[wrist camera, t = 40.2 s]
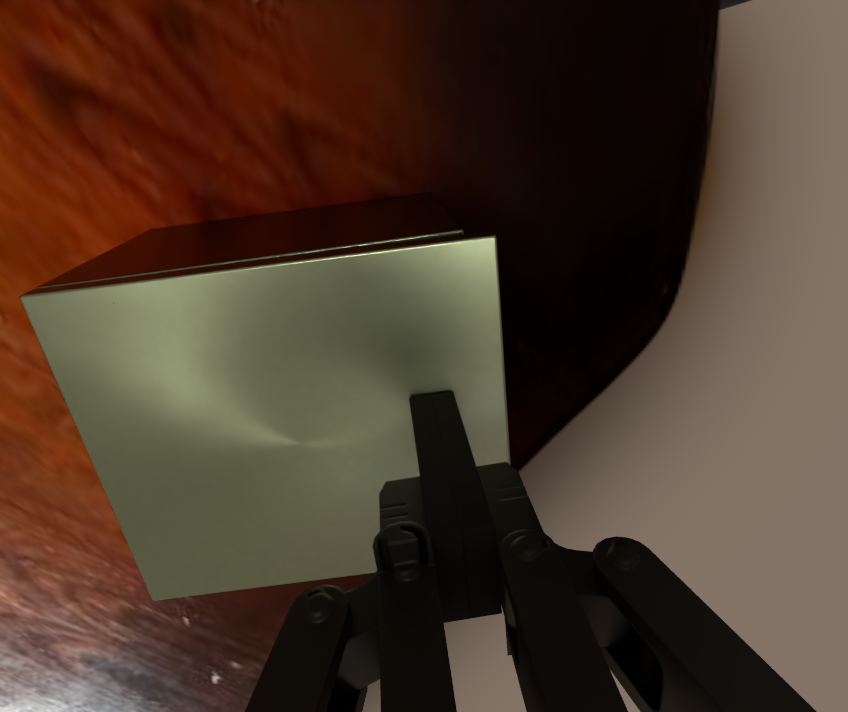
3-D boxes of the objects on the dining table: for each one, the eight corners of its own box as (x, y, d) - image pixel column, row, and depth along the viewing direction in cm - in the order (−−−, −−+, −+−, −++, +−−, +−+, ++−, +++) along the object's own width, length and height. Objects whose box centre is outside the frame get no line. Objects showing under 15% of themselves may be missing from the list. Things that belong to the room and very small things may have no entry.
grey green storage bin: (431, 191, 26) (463, 229, 18) (455, 415, 32) (489, 532, 23) (149, 229, 26) (33, 288, 17) (220, 450, 31) (160, 584, 22)
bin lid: (492, 229, 17) (496, 235, 16) (512, 540, 22) (516, 555, 21) (33, 288, 17) (17, 295, 16) (159, 585, 22) (151, 601, 21)
